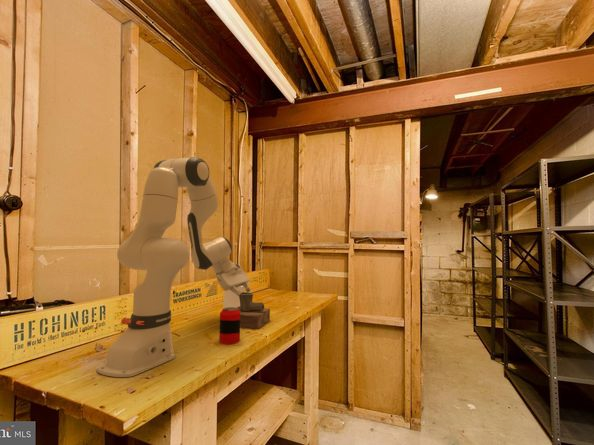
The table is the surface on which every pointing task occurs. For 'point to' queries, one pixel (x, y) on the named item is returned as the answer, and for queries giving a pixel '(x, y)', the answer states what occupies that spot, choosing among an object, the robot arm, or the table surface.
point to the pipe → (249, 303)
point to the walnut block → (254, 318)
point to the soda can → (229, 325)
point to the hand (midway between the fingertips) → (244, 293)
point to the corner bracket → (232, 298)
